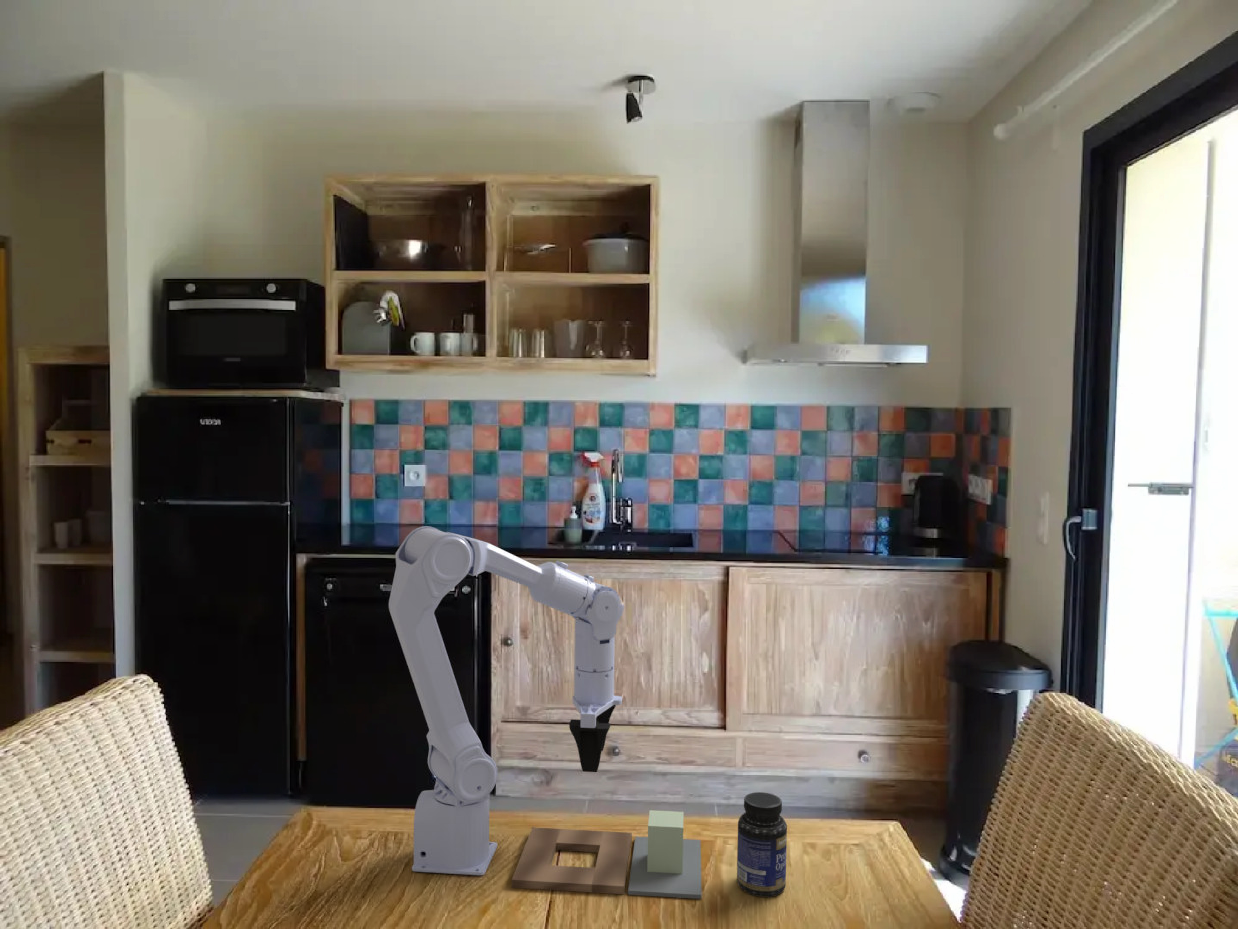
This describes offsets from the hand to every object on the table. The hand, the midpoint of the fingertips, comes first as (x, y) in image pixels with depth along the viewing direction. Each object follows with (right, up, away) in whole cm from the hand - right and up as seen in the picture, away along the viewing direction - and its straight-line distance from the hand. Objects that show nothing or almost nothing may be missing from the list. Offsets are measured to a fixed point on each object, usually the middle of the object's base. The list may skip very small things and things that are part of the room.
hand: (593, 760), depth 124 cm
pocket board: (-2, -10, -10) cm, 15 cm away
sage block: (+10, -10, -11) cm, 18 cm away
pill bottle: (+22, -11, -15) cm, 29 cm away
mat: (+10, -10, -11) cm, 18 cm away
